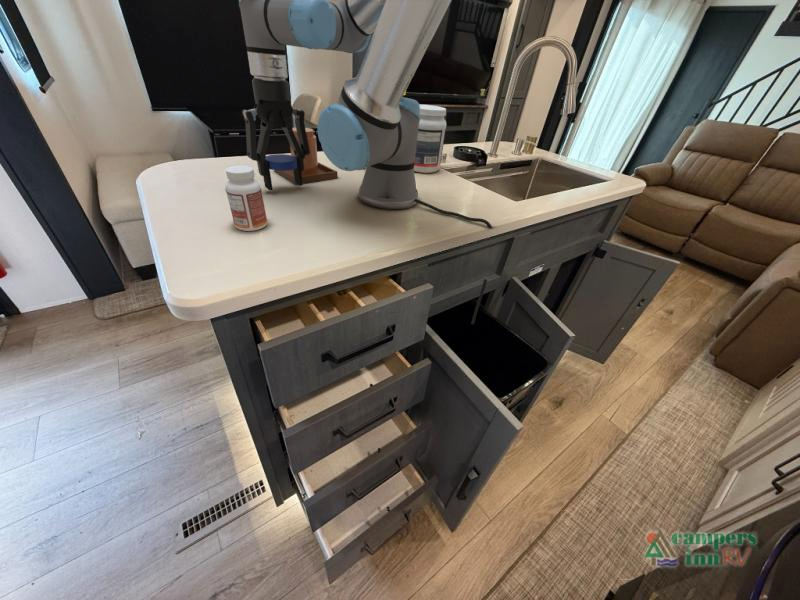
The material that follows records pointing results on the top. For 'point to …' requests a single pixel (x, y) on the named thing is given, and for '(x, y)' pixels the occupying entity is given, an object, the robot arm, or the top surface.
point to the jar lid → (281, 162)
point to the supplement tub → (430, 139)
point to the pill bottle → (245, 198)
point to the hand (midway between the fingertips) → (284, 186)
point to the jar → (311, 159)
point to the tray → (323, 174)
